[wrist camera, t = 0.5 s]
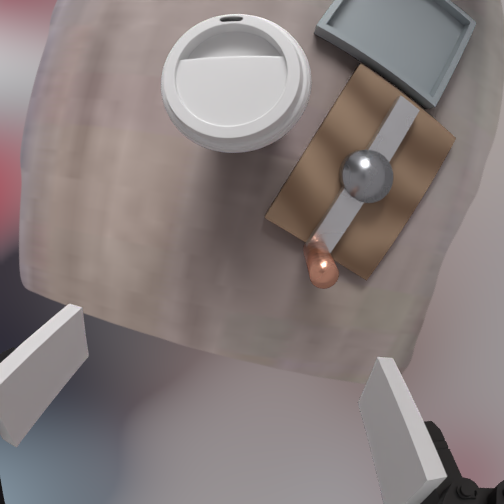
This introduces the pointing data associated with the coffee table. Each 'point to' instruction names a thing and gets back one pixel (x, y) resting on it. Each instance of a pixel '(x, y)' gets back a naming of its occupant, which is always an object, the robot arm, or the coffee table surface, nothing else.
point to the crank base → (329, 161)
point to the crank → (357, 190)
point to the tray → (402, 40)
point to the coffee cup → (235, 83)
